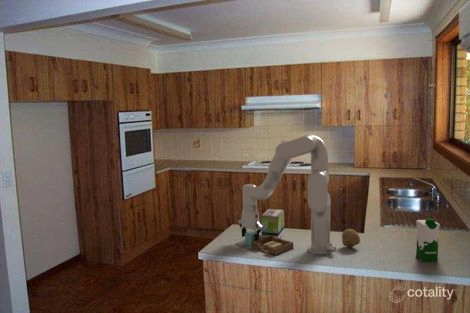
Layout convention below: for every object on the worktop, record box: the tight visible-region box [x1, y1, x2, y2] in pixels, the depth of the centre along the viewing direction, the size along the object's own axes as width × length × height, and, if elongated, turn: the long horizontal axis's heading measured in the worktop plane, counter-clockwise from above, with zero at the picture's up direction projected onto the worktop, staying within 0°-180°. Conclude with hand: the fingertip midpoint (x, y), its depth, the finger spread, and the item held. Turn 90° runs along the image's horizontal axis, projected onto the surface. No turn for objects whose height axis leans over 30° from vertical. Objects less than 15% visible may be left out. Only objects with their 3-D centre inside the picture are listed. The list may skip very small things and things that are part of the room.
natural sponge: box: [341, 228, 361, 249], centre depth 211 cm, size 9×9×10 cm
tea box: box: [261, 208, 285, 239], centre depth 230 cm, size 15×10×15 cm, turn 161°
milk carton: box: [415, 217, 441, 262], centre depth 193 cm, size 9×9×20 cm
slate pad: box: [235, 240, 255, 251], centre depth 220 cm, size 12×12×1 cm
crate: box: [252, 236, 294, 257], centre depth 213 cm, size 16×14×4 cm
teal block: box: [244, 230, 255, 246], centre depth 220 cm, size 4×4×6 cm
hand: (250, 238), depth 220 cm, fingers open, 9 cm apart
